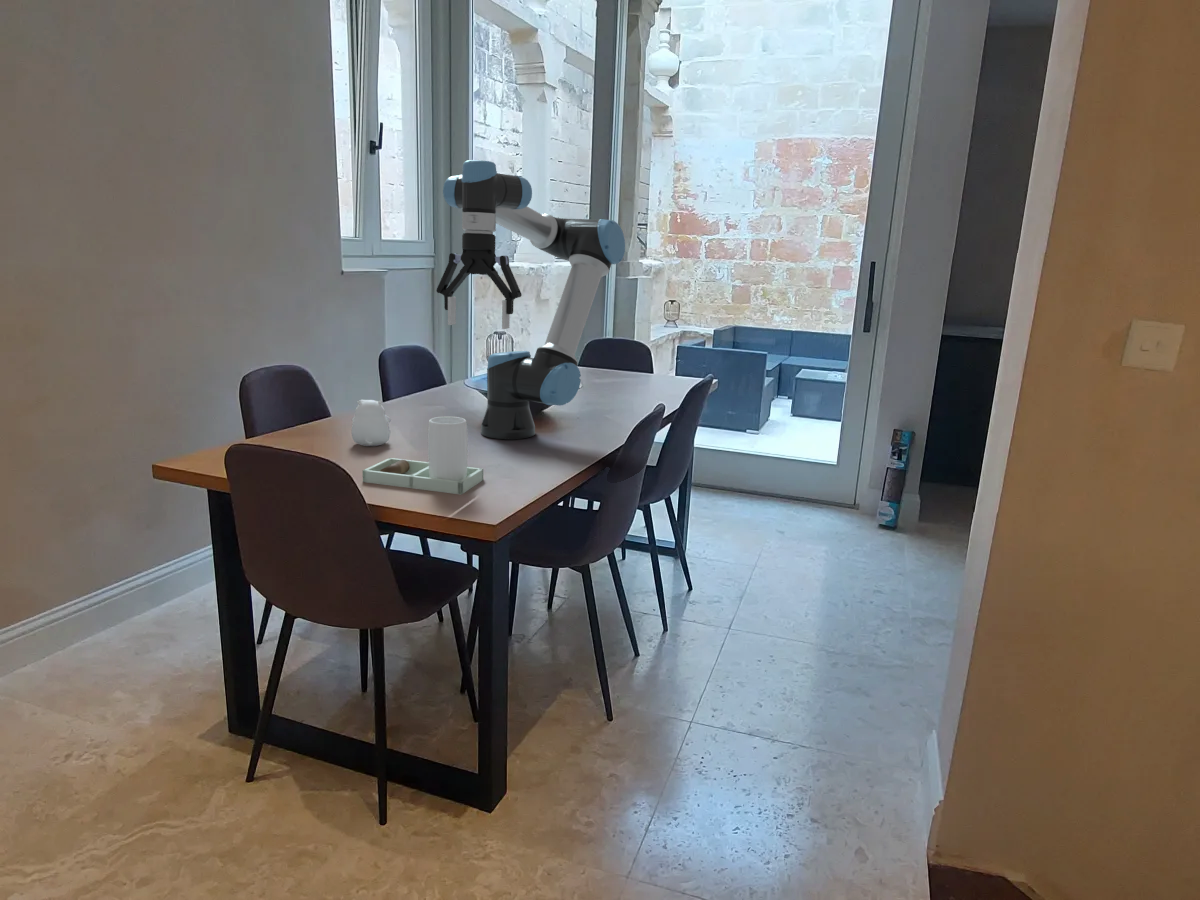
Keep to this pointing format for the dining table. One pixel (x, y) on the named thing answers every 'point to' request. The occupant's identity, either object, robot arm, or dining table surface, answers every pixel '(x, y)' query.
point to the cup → (448, 448)
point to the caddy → (420, 477)
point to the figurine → (370, 424)
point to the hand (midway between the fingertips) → (478, 326)
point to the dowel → (397, 467)
